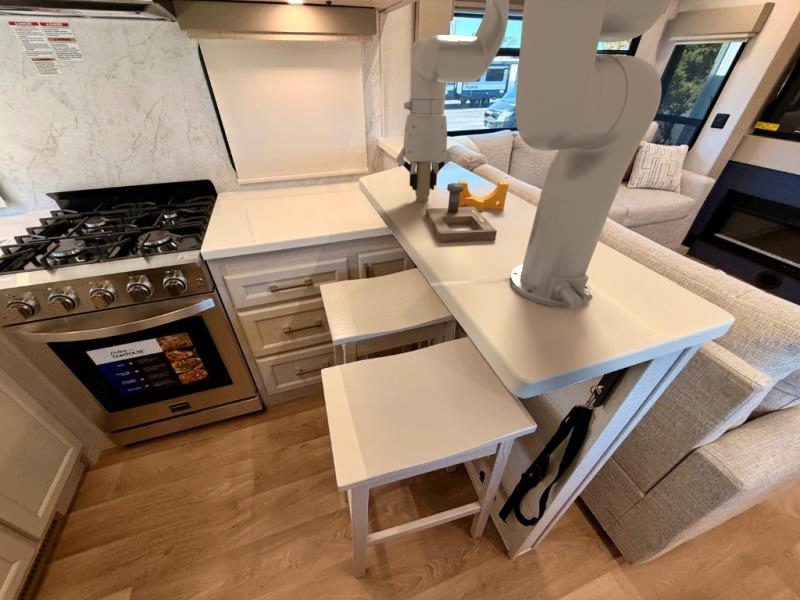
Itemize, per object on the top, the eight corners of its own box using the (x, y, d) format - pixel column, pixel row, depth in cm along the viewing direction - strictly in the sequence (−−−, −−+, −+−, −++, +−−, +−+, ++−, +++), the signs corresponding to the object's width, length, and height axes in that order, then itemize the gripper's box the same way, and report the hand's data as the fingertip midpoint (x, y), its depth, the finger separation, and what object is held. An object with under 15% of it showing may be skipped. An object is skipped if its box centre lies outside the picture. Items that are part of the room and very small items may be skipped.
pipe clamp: (457, 210, 84) (460, 185, 80) (456, 205, 87) (458, 180, 84) (504, 212, 83) (509, 186, 80) (501, 206, 87) (506, 181, 83)
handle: (407, 202, 88) (408, 141, 80) (427, 199, 91) (431, 139, 82) (415, 207, 85) (418, 144, 76) (436, 204, 87) (441, 142, 79)
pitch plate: (495, 240, 69) (502, 202, 64) (439, 242, 67) (442, 204, 63) (473, 214, 81) (477, 181, 76) (425, 216, 80) (427, 183, 75)
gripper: (392, 109, 71) (392, 194, 82) (466, 109, 73) (457, 191, 84) (388, 106, 77) (389, 185, 88) (457, 106, 79) (450, 183, 90)
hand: (422, 187), depth 86 cm, fingers closed on handle, 4 cm apart
